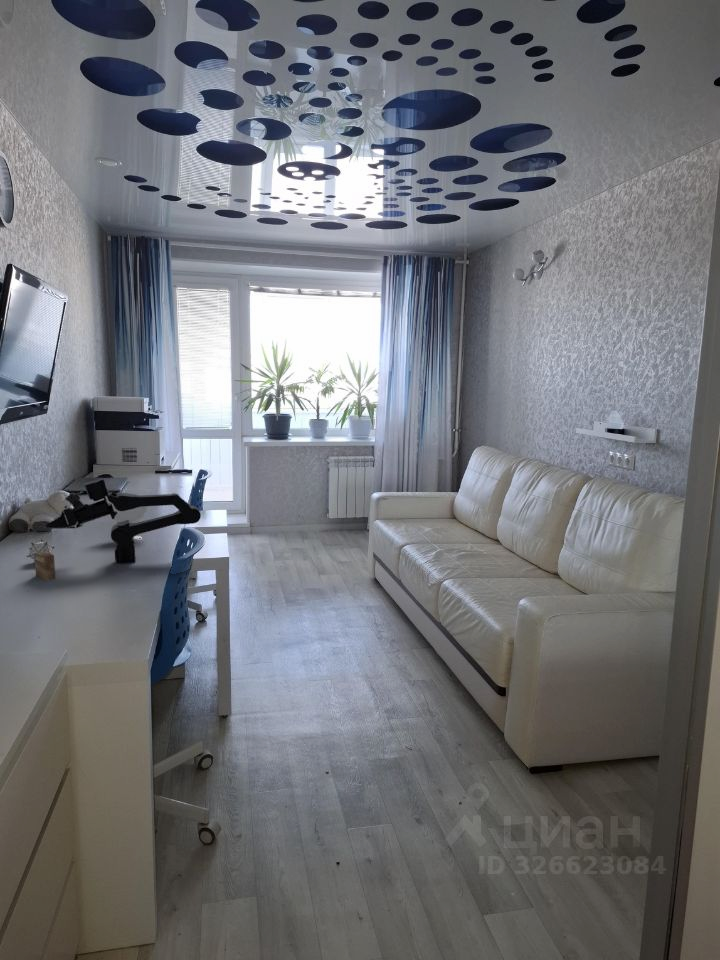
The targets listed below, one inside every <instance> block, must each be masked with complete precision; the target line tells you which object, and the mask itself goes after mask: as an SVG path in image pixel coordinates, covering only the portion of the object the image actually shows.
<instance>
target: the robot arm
mask: <svg viewBox="0 0 720 960" xmlns="http://www.w3.org/2000/svg"><path fill="white" fill-rule="evenodd" d="M83 486H84V488H85V491H86V493H87V496H88V498H89V500H92V501H93V503H90V504H88V503H84V502H83V501H82V500H81V497H80V495H79V494H77V493H76V494H75V493H74V492H72V493H70V494H69V495H67V496H66V497H65V500H66V501H67V502H69V504H70V505H71V506H72V507H73V508H69V507H68V508H66V509H63V510H61V514H60V516H59V517H56V518H55V519H54V520H52V521H50V522H49V523H47V524H45V527H46V528H48V529H49V528H50V529H53V530H54V529H63V530H64V529H74V530H75V529H79V528H81V527H83V526H84V525H85V524H86V523H89V522H93V521H95V520H98V519H101V518H103V517H106V516H109V515H110V518H111V519H112V520H114V517H115V515H116V514H117V511H114V509H113V506H112V504H114V507H115V509H117V510H118V511H126V510H131V509H134V508H137V507H144V506H147V507H160V506H161V507H163V506H174V507H175V508H176V509H177V510H176V511H175V512H173V513H169V514H166V515H162V516H158V517H153V518H150V519H145V520H142V521H138V522H136V523H129V520H126V521H123V522H117V521H116V524H114V525H113V526H112V527H111V529H110V538H111V540H112V541H113V543H114V542H115V543H116V545H115V546H116V547H115V548H114V562H116V563H115V564H127V563H128V564H129V563H136V561H137V558H136V557H137V556H136V543H135V540H134V536H139V535H140V534H141V535H142V534H145V533H149V532H152V531H156V530H160V529H164V528H167V527H171V526H175V525H191V524H196V523H198V522H199V521H200V519H201V515H202V514H201V511H200V510H199V509H198V507H196V506H195V505H193V504H189V503H188V502H187V501H186V500H184V498H182V497H181V496H180V494H178V493H175V492H173V493H165V494H163V493H162V494H147V495H145V494H144V495H139V494H133V493H128V492H127V493H126V492H119V493H115V492H112V491H111V492H110V491H109V490H108V488H107V486H106V480H105V478H100V479H96V480H91V481H88V482H86V483H84V485H83ZM108 501H109V502H111V503H112V504H108Z"/></svg>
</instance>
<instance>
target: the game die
mask: <svg viewBox="0 0 720 960" xmlns="http://www.w3.org/2000/svg"><path fill="white" fill-rule="evenodd" d="M30 544H31V547H29V548H28V549H29V550H30V551H29V554H28V555H26V558H31V559H32V560H33V562H34V563H35V554H34V553H38V552H42V551H44V552H47V553H50V554H52V551H53V549H55V546H51V545H49V544H48V542H47V541H46V542H45V541H43V539H40V541H38V542H35V543H34V542H31V543H30Z"/></svg>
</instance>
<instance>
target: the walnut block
mask: <svg viewBox="0 0 720 960" xmlns="http://www.w3.org/2000/svg"><path fill="white" fill-rule="evenodd" d="M34 554H35V562H34V567H35V576H36V577H37V578H40V579H42V578H43V579H42V580H45V581H49V579H50V580H53V578H54V579H56V567H55V565H56V564H55V554H53V553H51V554H50V553H47V552H44V551H42V552H38V553H34Z"/></svg>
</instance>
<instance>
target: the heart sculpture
mask: <svg viewBox="0 0 720 960" xmlns="http://www.w3.org/2000/svg"><path fill="white" fill-rule="evenodd" d="M107 502H108V504H112V503H111V502H109V501H108V500H107ZM112 506H113V509H114V511H117V514H116V515H115V517H114V519H113V520H115V522H116V523H117V522H123V521H126V520H129V523H138V522H140V520H141V519H143V518H144V516H145V514H146V513H147V512H148V506H144V507H137V508H134V509H131V510H126V511H118V510H117V509H115V507H114V504H112ZM141 536H142V535H136V536H134V539H137V540H143V539H142V537H141ZM139 538H141V539H139Z"/></svg>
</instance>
